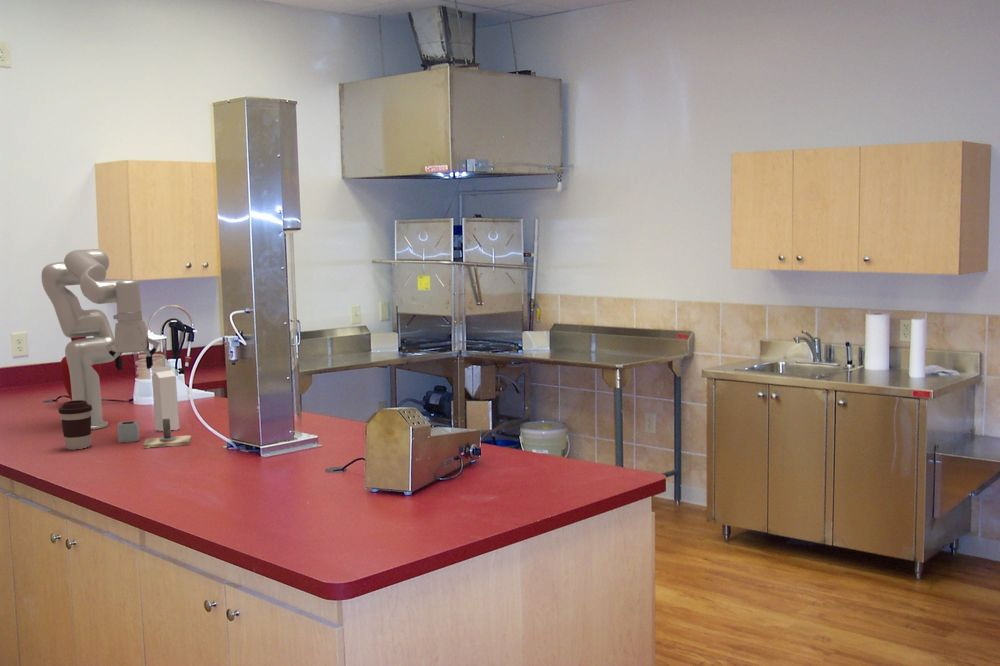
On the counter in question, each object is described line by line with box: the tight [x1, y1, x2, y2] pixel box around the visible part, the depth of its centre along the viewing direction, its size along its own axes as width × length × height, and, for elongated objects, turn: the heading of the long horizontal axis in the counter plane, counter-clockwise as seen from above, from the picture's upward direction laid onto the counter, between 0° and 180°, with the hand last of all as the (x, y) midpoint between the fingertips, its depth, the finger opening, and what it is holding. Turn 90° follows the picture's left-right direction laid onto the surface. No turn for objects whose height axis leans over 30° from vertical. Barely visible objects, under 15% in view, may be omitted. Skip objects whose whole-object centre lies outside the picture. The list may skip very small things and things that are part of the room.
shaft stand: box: [143, 419, 192, 449], centre depth 335 cm, size 14×10×8 cm
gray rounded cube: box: [116, 420, 141, 443], centre depth 342 cm, size 6×6×6 cm
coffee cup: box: [58, 400, 92, 451], centre depth 333 cm, size 10×10×15 cm
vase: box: [60, 337, 102, 401], centre depth 410 cm, size 15×15×30 cm
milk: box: [151, 365, 180, 432], centre depth 357 cm, size 6×6×22 cm
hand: (134, 369), depth 342 cm, fingers open, 9 cm apart
